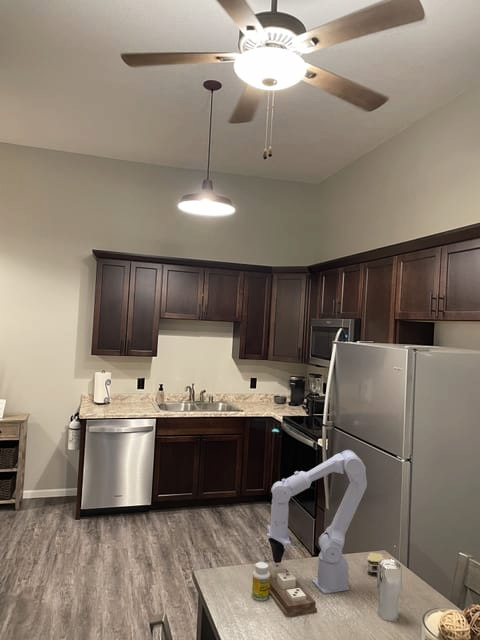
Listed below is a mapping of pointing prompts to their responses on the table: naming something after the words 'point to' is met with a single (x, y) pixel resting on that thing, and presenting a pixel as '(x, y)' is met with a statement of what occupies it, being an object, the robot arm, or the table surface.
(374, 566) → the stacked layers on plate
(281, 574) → the key two
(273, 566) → the key one
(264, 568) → the supplement bottle
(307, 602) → the brown wooden tray
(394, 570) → the beer glass
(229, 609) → the table surface
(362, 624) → the table surface
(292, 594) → the key three
